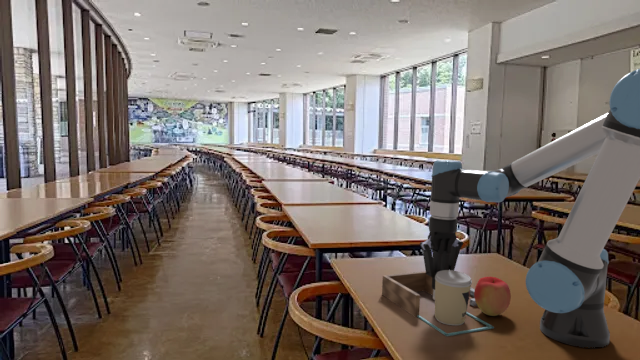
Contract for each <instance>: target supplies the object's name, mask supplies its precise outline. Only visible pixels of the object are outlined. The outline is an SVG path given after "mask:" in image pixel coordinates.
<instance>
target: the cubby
mask: <svg viewBox="0 0 640 360" xmlns="http://www.w3.org/2000/svg"><path fill="white" fill-rule="evenodd" d="M381 284H382V286H381V287H382V288H381V295H382V296H383V297H384V298H387V299H388V300H389V301H391V302H392V303H394V304H395V305H397V306H398V307H400V308H401V309H402V310H404V311H405V312H407V313H409V314H410V315H411V316H413V317H414V318H418V317H417V315H420V305H421V294H419V292H426V293H427V294H429V295H431V296H433V289H432V277H430V276H429V275H427V274H426V270H423V271H414V272H405V273H394V274H385V275H382V282H381Z"/></svg>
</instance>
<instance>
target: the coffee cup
mask: <svg viewBox="0 0 640 360" xmlns="http://www.w3.org/2000/svg"><path fill="white" fill-rule="evenodd" d="M472 284H473V280H472V277H471V276H470V275H469V274H466V273H464V272H461V271H459V270H454V271H453V270H442V271H439V272H437V274H436V275H435V300H434V318H435V320H437V321H438V322H439V323H442V324H444V325H448V326H453V327H454V326H462V325H463V324H464V323H465V322H466V317H467V314H466V312H468V304H469V301H470V295H469V294H470V288H472Z"/></svg>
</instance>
